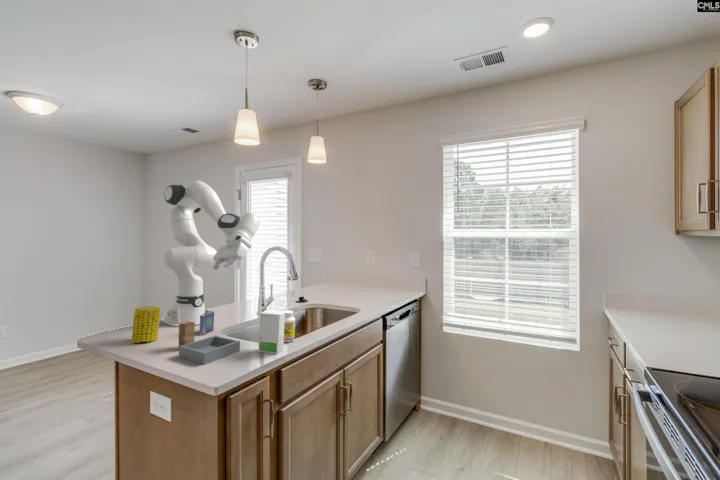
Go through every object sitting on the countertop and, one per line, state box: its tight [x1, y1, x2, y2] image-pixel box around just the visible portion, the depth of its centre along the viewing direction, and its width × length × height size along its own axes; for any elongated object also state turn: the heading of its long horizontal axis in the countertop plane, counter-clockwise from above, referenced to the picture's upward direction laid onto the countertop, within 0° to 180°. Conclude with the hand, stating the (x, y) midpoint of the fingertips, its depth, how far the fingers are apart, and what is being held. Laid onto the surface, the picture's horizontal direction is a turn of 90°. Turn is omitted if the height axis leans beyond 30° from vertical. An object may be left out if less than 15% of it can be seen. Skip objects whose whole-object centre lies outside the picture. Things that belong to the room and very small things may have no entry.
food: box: [131, 305, 161, 344], centre depth 143 cm, size 15×12×10 cm
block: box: [178, 321, 196, 347], centre depth 135 cm, size 4×4×10 cm
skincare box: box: [257, 309, 285, 355], centre depth 134 cm, size 8×7×16 cm
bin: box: [178, 335, 241, 365], centre depth 129 cm, size 14×16×4 cm
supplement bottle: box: [283, 309, 296, 344], centre depth 147 cm, size 7×7×13 cm
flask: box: [199, 308, 215, 336], centre depth 157 cm, size 9×3×11 cm, turn 172°
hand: (220, 268), depth 146 cm, fingers open, 8 cm apart
